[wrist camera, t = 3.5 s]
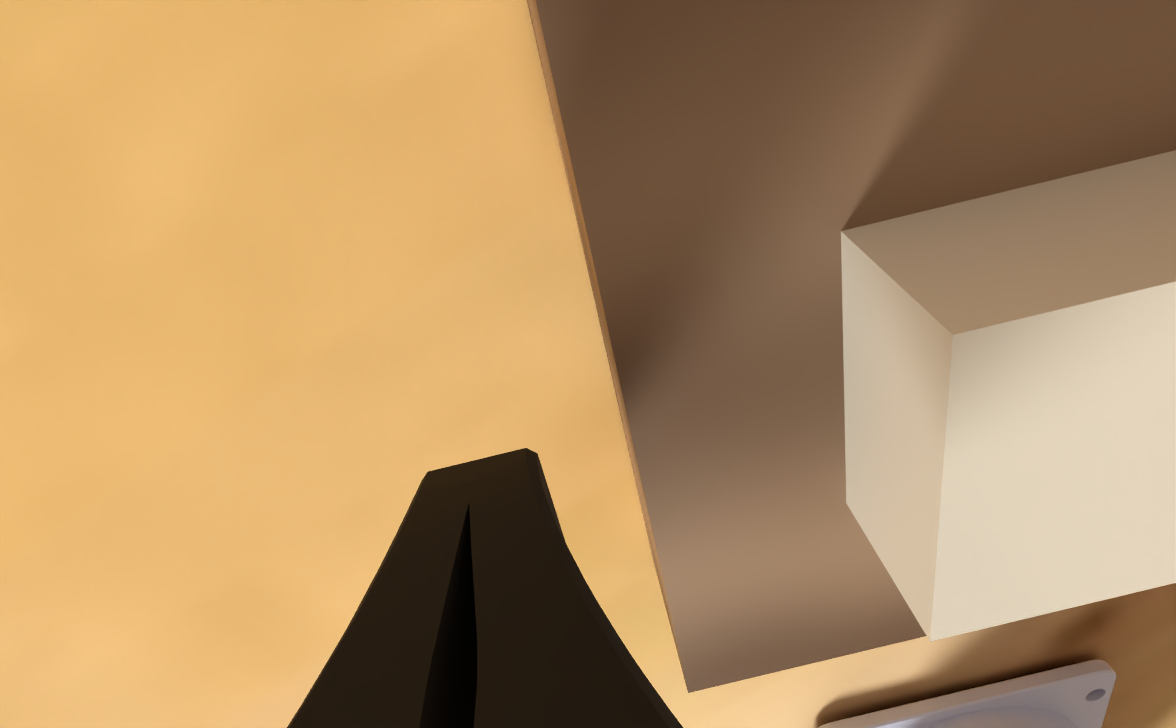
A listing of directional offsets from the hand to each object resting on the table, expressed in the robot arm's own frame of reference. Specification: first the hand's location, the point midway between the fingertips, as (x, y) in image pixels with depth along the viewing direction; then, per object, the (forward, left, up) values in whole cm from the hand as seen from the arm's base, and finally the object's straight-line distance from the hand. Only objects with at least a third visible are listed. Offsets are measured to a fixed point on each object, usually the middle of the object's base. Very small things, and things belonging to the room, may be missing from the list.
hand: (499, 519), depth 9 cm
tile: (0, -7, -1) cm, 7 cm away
